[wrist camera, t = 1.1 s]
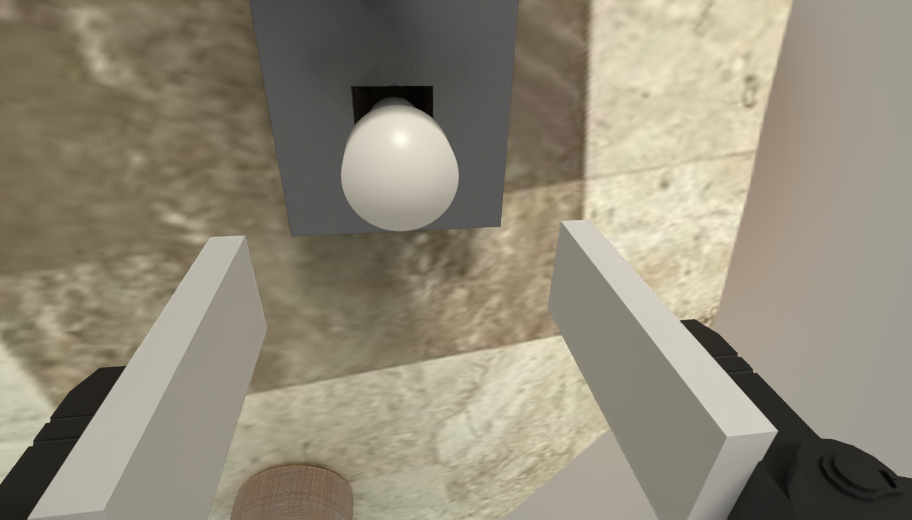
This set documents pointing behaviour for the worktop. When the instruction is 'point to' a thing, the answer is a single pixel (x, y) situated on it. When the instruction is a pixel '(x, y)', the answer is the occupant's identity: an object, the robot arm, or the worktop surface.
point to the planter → (294, 495)
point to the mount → (385, 64)
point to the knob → (398, 167)
